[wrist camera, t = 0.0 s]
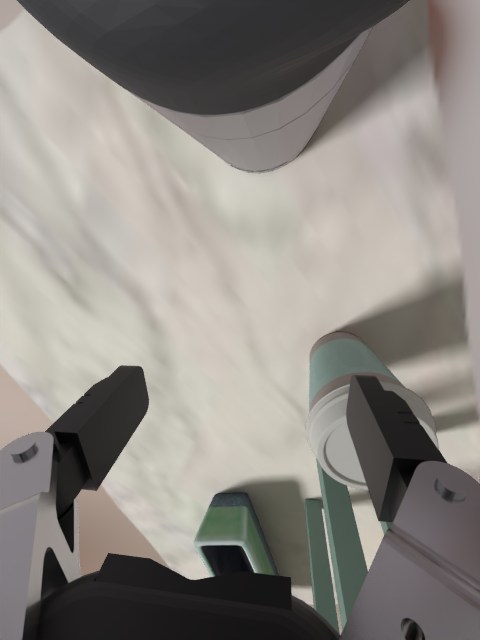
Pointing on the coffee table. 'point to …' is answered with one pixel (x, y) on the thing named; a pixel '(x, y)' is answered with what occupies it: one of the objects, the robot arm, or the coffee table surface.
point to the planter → (233, 538)
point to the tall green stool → (335, 550)
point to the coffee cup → (331, 403)
